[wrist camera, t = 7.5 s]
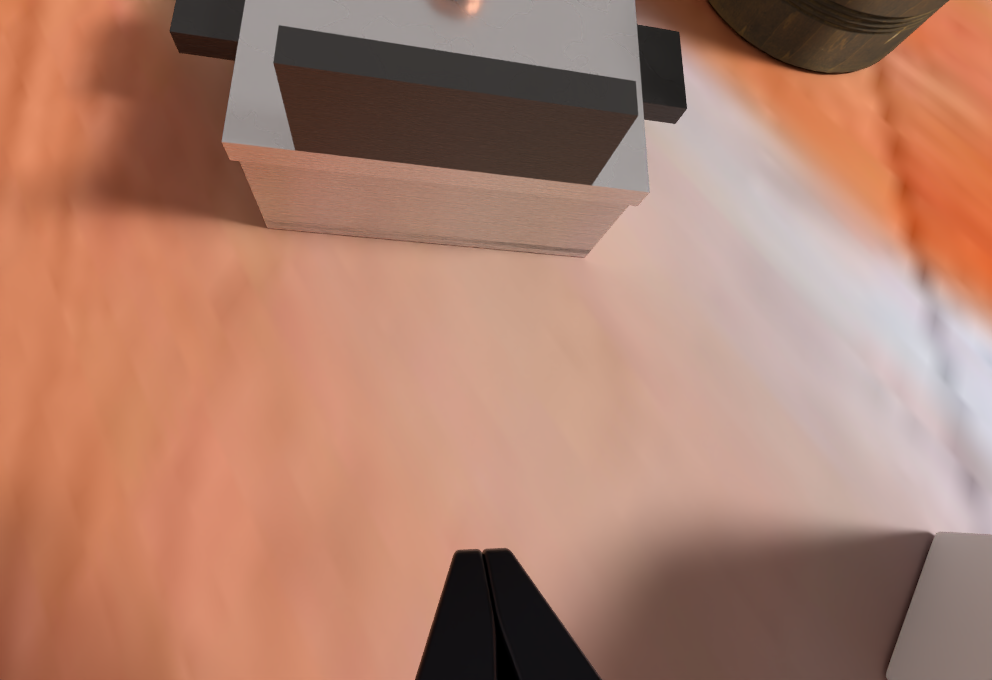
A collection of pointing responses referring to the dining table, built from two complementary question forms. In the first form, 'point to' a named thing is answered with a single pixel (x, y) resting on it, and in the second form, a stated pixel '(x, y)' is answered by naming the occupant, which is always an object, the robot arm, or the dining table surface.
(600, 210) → the grey recessed tray
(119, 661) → the dining table surface
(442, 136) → the lid
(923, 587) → the milk carton
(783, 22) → the apothecary jar
